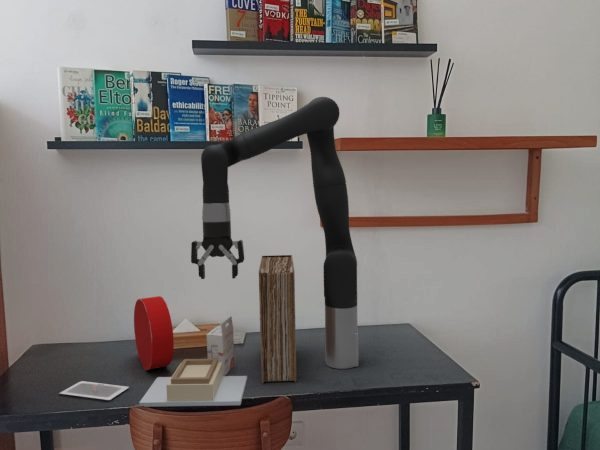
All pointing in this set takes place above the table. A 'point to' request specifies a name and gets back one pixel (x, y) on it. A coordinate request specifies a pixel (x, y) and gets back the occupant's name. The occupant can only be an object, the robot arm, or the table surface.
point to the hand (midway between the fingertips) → (218, 278)
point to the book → (277, 318)
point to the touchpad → (94, 390)
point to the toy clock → (153, 332)
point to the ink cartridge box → (222, 345)
